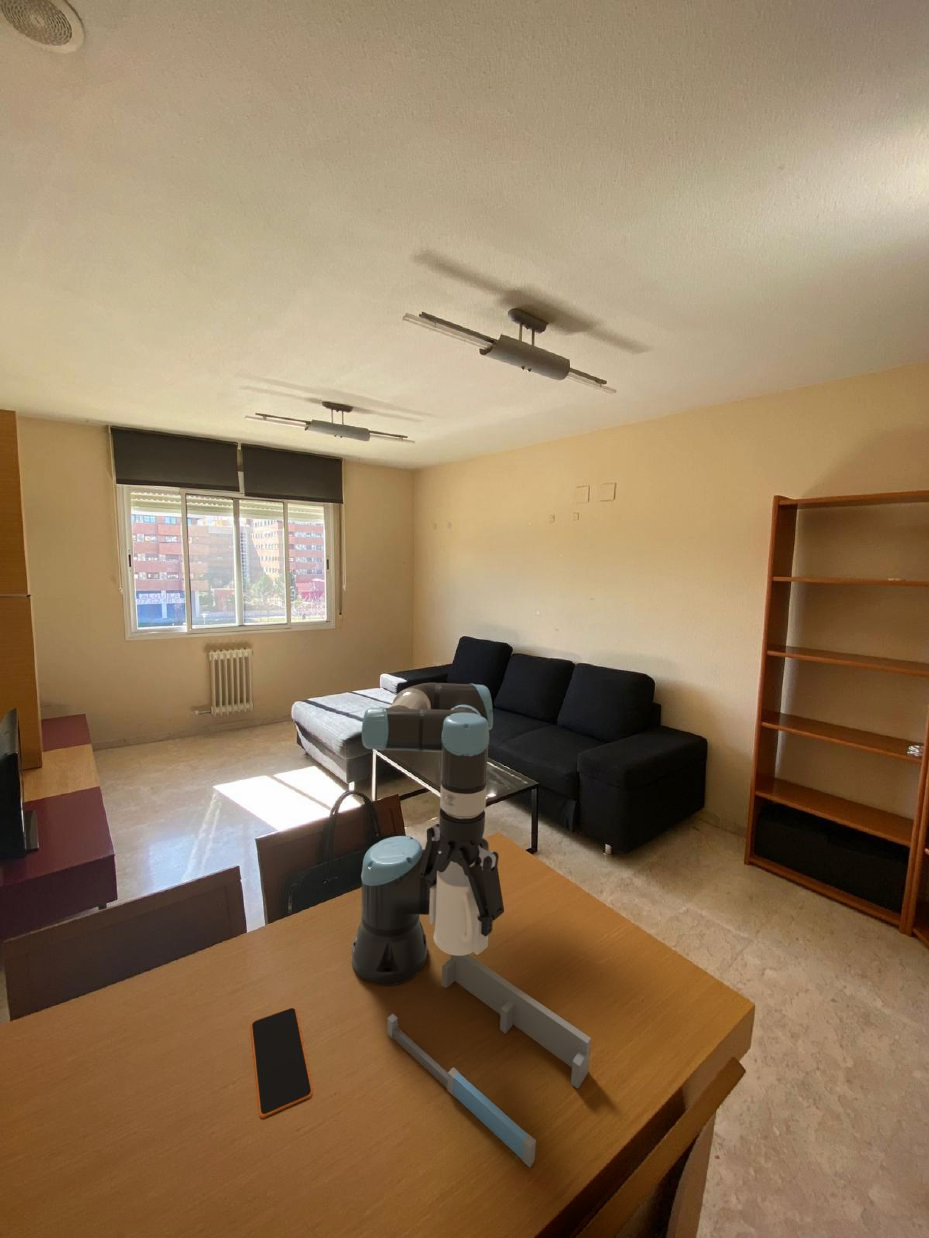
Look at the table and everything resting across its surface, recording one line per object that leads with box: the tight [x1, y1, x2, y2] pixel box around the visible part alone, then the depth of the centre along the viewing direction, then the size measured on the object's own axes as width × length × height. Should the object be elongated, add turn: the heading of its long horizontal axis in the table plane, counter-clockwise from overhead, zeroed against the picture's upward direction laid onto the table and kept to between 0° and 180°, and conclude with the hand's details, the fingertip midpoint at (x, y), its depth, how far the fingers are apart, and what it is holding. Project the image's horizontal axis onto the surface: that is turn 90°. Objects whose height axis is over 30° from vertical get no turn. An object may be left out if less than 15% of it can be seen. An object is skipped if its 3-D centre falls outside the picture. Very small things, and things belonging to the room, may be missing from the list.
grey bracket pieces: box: [386, 954, 592, 1168], centre depth 83 cm, size 29×17×6 cm, turn 50°
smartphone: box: [250, 1006, 314, 1119], centre depth 81 cm, size 8×17×1 cm, turn 27°
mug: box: [433, 861, 479, 956], centre depth 85 cm, size 12×8×12 cm
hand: (457, 933), depth 85 cm, fingers closed on mug, 9 cm apart
